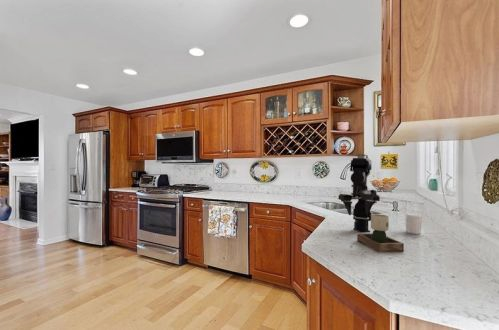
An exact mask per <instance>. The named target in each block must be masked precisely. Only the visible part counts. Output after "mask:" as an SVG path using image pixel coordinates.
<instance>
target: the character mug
mask: <svg viewBox="0 0 499 330" xmlns="http://www.w3.org/2000/svg"><path fill="white" fill-rule="evenodd" d="M389 221H390V217H389V215H386V214H382V213H381V214H380V213H378V214H377V213H371V221H370V228H371V230H373V231H372V233H373V234H372V240H373V241H375V242H378V243H387V237H388V236H387V233H386V231H389V227H390V226H389ZM386 236H387V237H386Z"/></svg>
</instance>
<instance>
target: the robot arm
mask: <svg viewBox="0 0 499 330" xmlns="http://www.w3.org/2000/svg"><path fill="white" fill-rule="evenodd" d="M371 171H372V160H371V159H370V158H369V156H368V154H358V155H357V157H352V159H351V160H350V168H349V172H352V174H351V175H350V181H351V183H352V184H351V188H352V192H351V194H348V193H339V195H338V198H337V199H338V200H340V201H341V202H342V203H343V205H344V206H345V209H346V211H347V214H348V216H353V217H352V218H353V220H354V222H353V223H354V224H353V230H355V231H357V232H358V233H370V232H371V230H369V222H371V214H372V212H371V210H372V208H373V205H375V204H377V203H378V202H380V201H381V199H380V195H378V194H377V190H376V189H370V190H369V189H368V186H367V185H368V184H367V183H368V181H367V180H368V177H369V176H370V174H371ZM352 200H357V202H356V203H355V204H354V208H353V209H352V204H353V201H352Z"/></svg>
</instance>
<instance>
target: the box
mask: <svg viewBox="0 0 499 330" xmlns="http://www.w3.org/2000/svg"><path fill="white" fill-rule="evenodd" d="M372 234H373V232H372V233H370V232H369V233H356V240H357V242H358V243H361V244H362V245H364V246H366V247H368V248H370V249H372V250H373V251H376V252H378V253H397V252H398V253H400V252H401V253H402V252H404V251H405V247H404V246H405V244H404V242H402V241H399V240H397V239H395V238H393V237H389V236H387V235H386V237H387V243H378V242H375V241H373V240H372Z"/></svg>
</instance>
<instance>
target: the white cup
mask: <svg viewBox="0 0 499 330" xmlns="http://www.w3.org/2000/svg"><path fill="white" fill-rule="evenodd" d="M422 225H423V214H419V213H413V212H406V213H405V232H406V233H408V234H412V235H420V234H421V232H422V227H423V226H422Z"/></svg>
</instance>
